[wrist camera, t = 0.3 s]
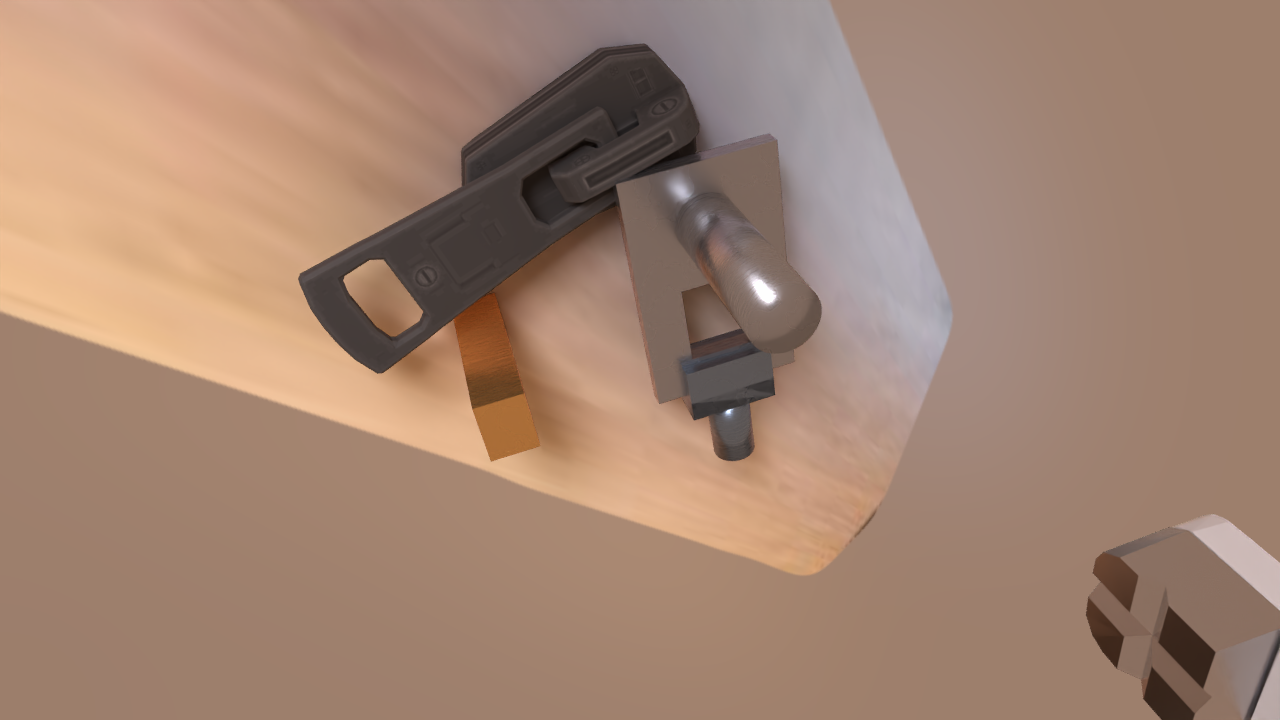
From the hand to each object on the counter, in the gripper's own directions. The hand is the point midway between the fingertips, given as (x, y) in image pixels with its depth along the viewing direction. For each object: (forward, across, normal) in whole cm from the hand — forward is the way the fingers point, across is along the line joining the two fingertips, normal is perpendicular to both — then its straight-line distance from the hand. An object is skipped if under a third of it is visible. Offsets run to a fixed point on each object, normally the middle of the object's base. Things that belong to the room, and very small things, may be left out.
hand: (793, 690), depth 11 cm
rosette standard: (+47, -11, +23) cm, 54 cm away
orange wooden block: (+47, +4, +21) cm, 52 cm away
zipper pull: (+47, 0, +12) cm, 48 cm away
